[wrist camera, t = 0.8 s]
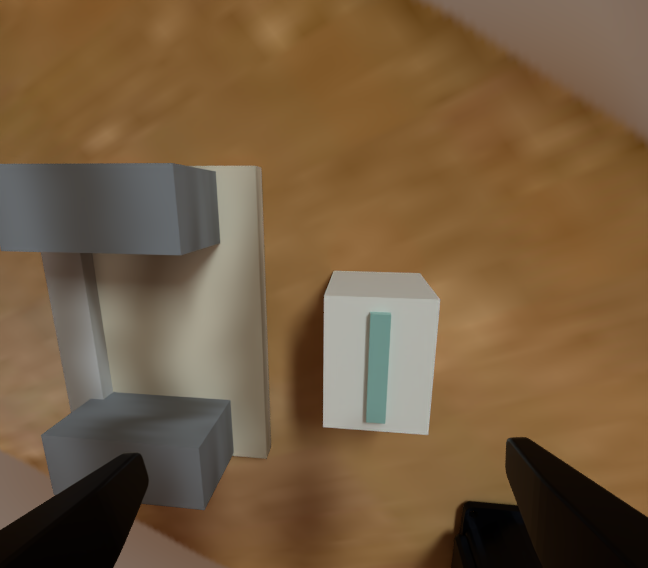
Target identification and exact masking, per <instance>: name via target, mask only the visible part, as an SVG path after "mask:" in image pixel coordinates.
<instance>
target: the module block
mask: <svg viewBox="0 0 648 568" xmlns="http://www.w3.org/2000/svg"><path fill="white" fill-rule="evenodd" d="M439 307H440V299H439V297H438V296H437V295H436V294H435V292H434V291H433V290H432V288H431V287H430V286H429V285H428V283H427V282H426V281H425V279H424V278H423V277H422V275H421V274H420V273H393V272H358V271H333V274H332V276H331V279H330V282H329V284H328V287H327V289H326V292H325V294H324V369H323V427H328V428H342V429H355V430H369V431H383V432H396V433H410V434H424V435H428V430H429V419H430V408H431V396H432V385H433V374H434V363H435V352H436V341H437V330H438V319H439Z"/></svg>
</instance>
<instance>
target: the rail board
mask: <svg viewBox="0 0 648 568" xmlns="http://www.w3.org/2000/svg"><path fill="white" fill-rule="evenodd" d="M0 246H1V251H24V252H41V255H42V260H43V266H44V271H45V276H46V281H47V287H48V292H49V297H50V303H51V308H52V313H53V319H54V324H55V329H56V335H57V340H58V345H59V351H60V356H61V361H62V367H63V372H64V377H65V383H66V388H67V393H68V399H69V404H70V409H71V413H70V414H69V415H68V416H66V417H65V418H64V419H62V420H61V421H60V422H58V423H57V424H56V425H54V426H53V427H51V428H50V429H49V430H47V431H46V432H45V433H43V434H42V435H41V437H42V442H43V446H44V451H45V456H46V460H47V465H48V470H49V474H50V479H51V483H52V488H53V493H54V495H57V494H59V493H60V492H62V491H63V490H65V489H66V488H68V487H70V486H71V485H73V484H74V483H76V482H78V481H79V480H81V479H82V478H84V477H86V476H87V475H89V474H90V473H92V472H93V471H95V470H97V469H98V468H100V467H101V466H103V465H105V464H106V463H108V462H109V461H111V460H113V459H114V458H116V457H117V456H119V455H121V454H122V453H126V452H138V453H140V454H141V455H142V457H143V460H144V463H145V466H146V470H147V473H148V476H149V485H148V488H147V491H146V493H145V496H144V498H143V501H142V503H141V504H150V505H160V506H170V507H179V508H189V509H199V510H205V508H206V506H207V504H208V502H209V500H210V498H211V496H212V494H213V492H214V490H215V488H216V486H217V484H218V483H219V481H220V479H221V477H222V475H223V473H224V471H225V469H226V467H227V465H228V463H229V461H230V459H231V457H232V456H241V457H253V458H265V459H267V456H268V454H269V451H270V448H271V433H270V404H269V375H268V346H267V317H266V288H265V259H264V230H263V201H262V172H261V167H258V166H184V165H179V164H173V163H134V164H0Z"/></svg>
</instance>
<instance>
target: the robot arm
mask: <svg viewBox="0 0 648 568" xmlns="http://www.w3.org/2000/svg"><path fill="white" fill-rule="evenodd" d="M505 468H506V474H507V478H508V480H509V483H510V486H511V488H512V491H513V494H514V496H515V499H516V502H517V504H518V506H515V505H504V504H493V503H482V502H468V503H466V504H465V505H464V506H463V511H462V519H461V527H460V534H457V536H456V537H455V540H454V549H453V557H452V565H451V568H648V517H646V516H645V515H643V514H642V513H640V512H639V511H637V510H636V509H634V508H633V507H631V506H630V505H628V504H627V503H625V502H624V501H622V500H621V499H619V498H618V497H616V496H615V495H613V494H612V493H610V492H609V491H607V490H606V489H604V488H603V487H601V486H600V485H598V484H597V483H595V482H594V481H592V480H591V479H589V478H588V477H586V476H585V475H583V474H582V473H580V472H579V471H577V470H576V469H574V468H573V467H571V466H570V465H568V464H566V463H565V462H563V461H562V460H560V459H559V458H557V457H556V456H554V455H553V454H551V453H550V452H548V451H547V450H545V449H544V448H542V447H541V446H539V445H538V444H536V443H535V442H533V441H532V440H530V439H529V438H526V437H513V438H509V439H507V442H506V463H505ZM148 485H149V476H148V473H147V470H146V466H145V463H144V460H143V457H142V455H141V454H140V453H138V452H126V453H122V454H121V455H119V456H117V457H116V458H114V459H113V460H111V461H109V462H108V463H106V464H105V465H103V466H101V467H100V468H98V469H97V470H95V471H93V472H92V473H90V474H89V475H87V476H86V477H84V478H82V479H81V480H79V481H78V482H76V483H74V484H73V485H71V486H70V487H68V488H66V489H65V490H63V491H62V492H60V493H59V494H57V495H55V496H54V497H52V498H51V499H49V500H47V501H46V502H44V503H43V504H41V505H39V506H38V507H36V508H35V509H33V510H31V511H30V512H28V513H27V514H25V515H24V516H22V517H20V518H19V519H17V520H16V521H14V522H12V523H11V524H9V525H8V526H6V527H5V528H3V529H1V530H0V568H113V567H114V565H115V563H116V561H117V559H118V557H119V555H120V553H121V550H122V548H123V546H124V544H125V541H126V539H127V537H128V534H129V531H130V529H131V527H132V525H133V522H134V520H135V517H136V515H137V513H138V510H139V508H140V505H141V503H142V501H143V498H144V496H145V493H146V491H147V488H148ZM471 511H474V512H471Z"/></svg>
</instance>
